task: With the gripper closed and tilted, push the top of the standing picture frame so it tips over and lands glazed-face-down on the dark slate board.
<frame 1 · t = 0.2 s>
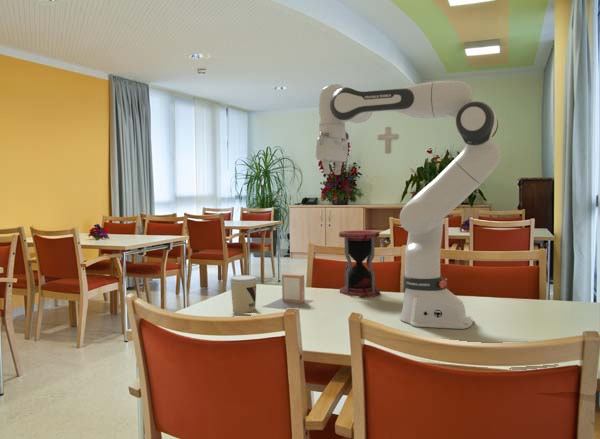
hand: (332, 174, 176), 47 cm above the table, tool pointing down, fingers open, 8 cm apart
coffee cup: (244, 311, 180), on the table
slate board: (288, 305, 187), on the table
hourglass: (359, 294, 206), on the table
picture frame: (293, 301, 190), point 1 cm above the table, touching slate board
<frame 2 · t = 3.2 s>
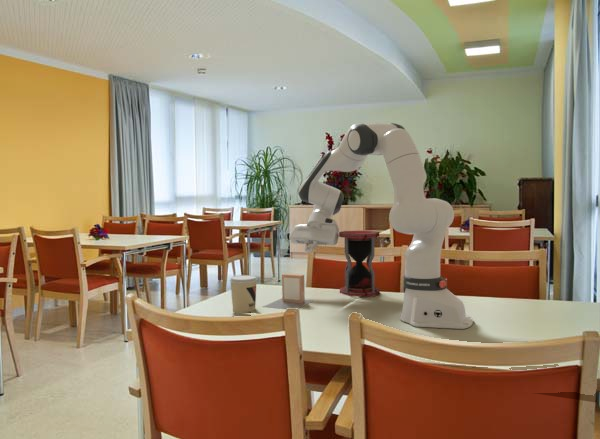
hand: (308, 251, 202), 18 cm above the table, tool tilted 45°, fingers closed
nothing on the table moved.
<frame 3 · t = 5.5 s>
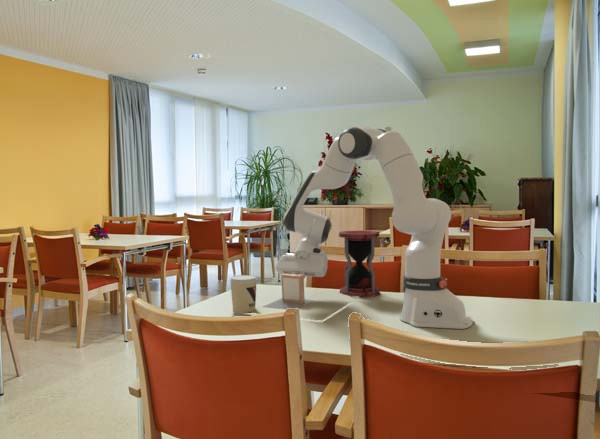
hand: (295, 283, 191), 7 cm above the table, tool tilted 45°, fingers closed
picture frame: (293, 301, 190), point 1 cm above the table, touching gripper, slate board
everything else where it was.
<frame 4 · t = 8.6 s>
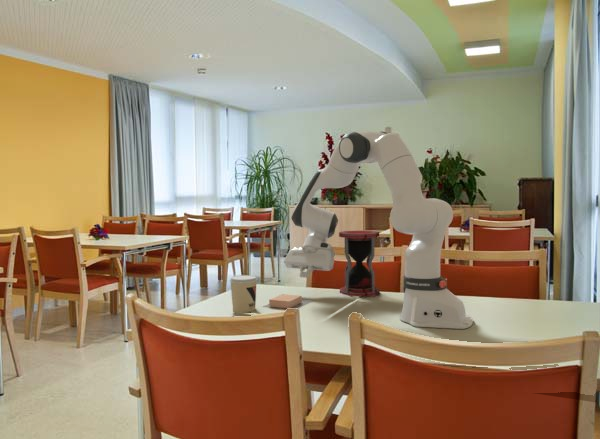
hand: (303, 276, 198), 9 cm above the table, tool tilted 45°, fingers closed
picture frame: (291, 298, 189), point 2 cm above the table, tilted 90°, touching slate board
everything else where it was.
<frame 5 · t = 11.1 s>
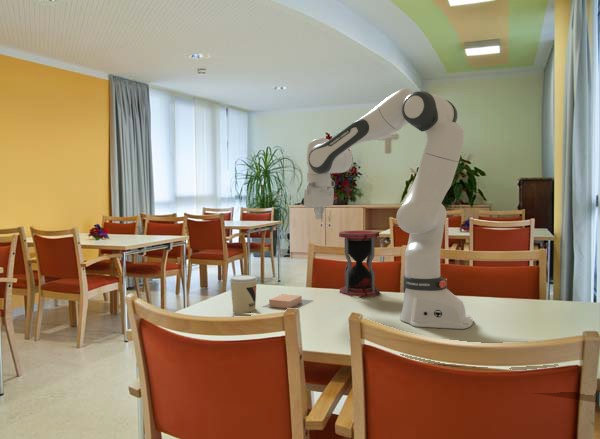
hand: (319, 219, 194), 31 cm above the table, tool pointing down, fingers closed
nothing on the table moved.
at the end: picture frame tilted 90°; picture frame inside the target area on the slate board (3.2 cm from its centre), point 2.2 cm above the slate board's base; the gripper is holding nothing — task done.
